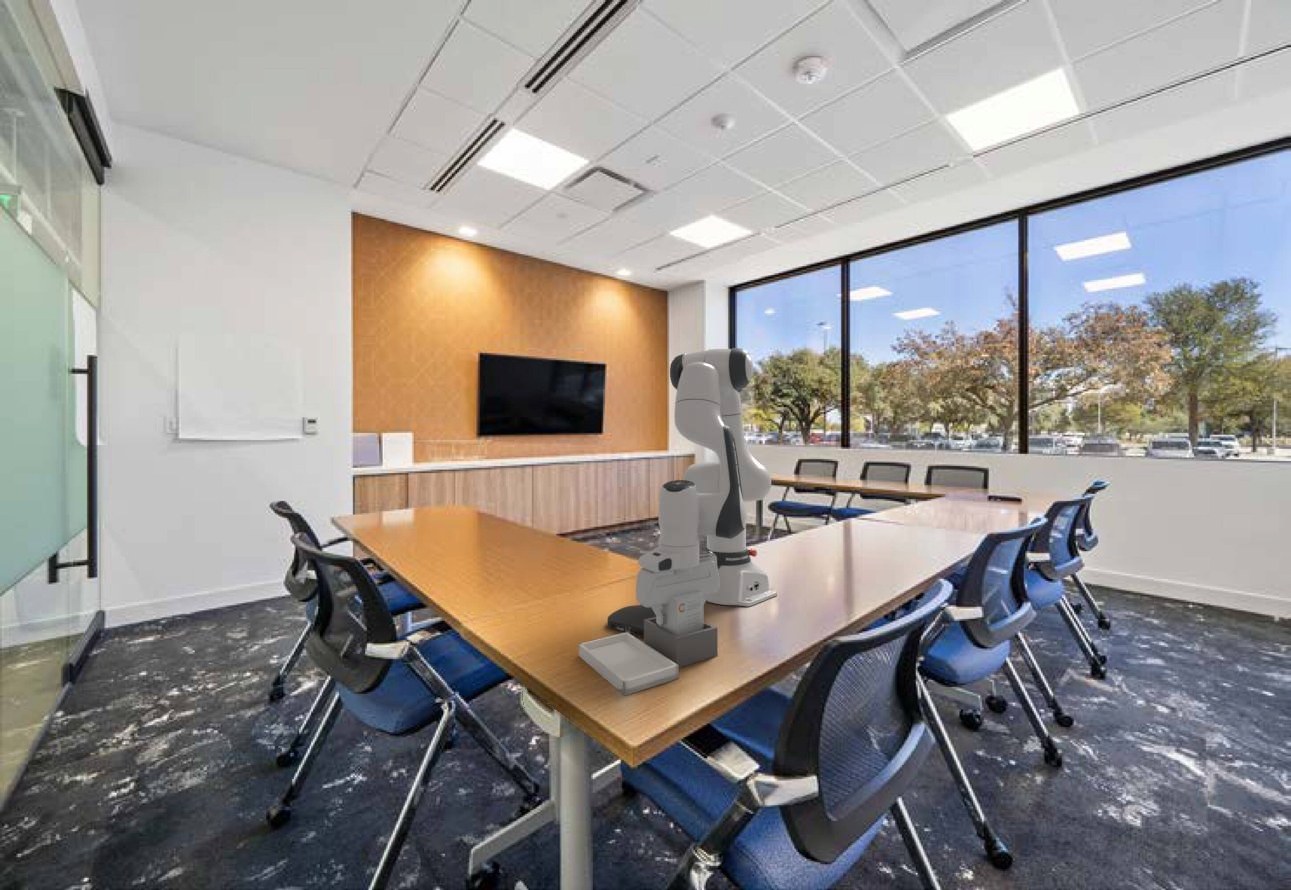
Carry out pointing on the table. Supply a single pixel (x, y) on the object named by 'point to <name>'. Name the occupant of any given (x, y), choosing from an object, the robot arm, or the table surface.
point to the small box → (684, 613)
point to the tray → (628, 663)
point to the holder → (682, 643)
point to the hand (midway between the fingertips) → (679, 619)
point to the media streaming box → (630, 619)
